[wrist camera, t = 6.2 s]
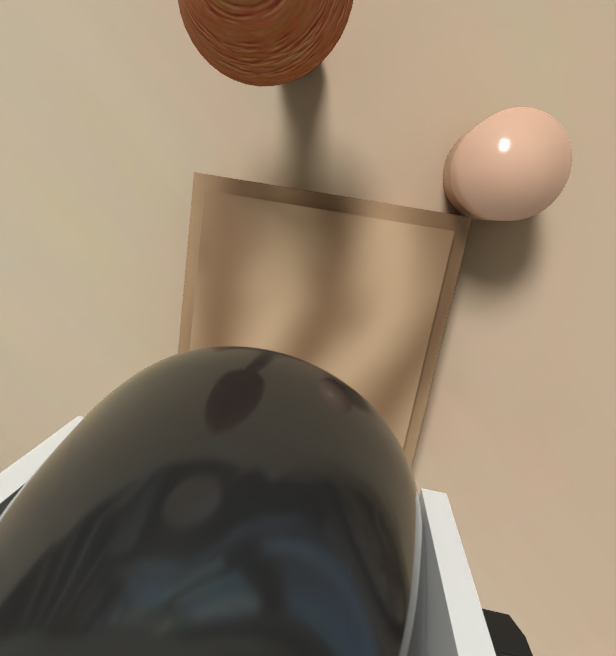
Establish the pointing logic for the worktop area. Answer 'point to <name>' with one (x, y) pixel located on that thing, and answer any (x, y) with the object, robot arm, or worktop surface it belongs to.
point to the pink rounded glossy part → (508, 166)
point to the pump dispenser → (218, 521)
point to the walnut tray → (325, 286)
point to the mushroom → (265, 36)
